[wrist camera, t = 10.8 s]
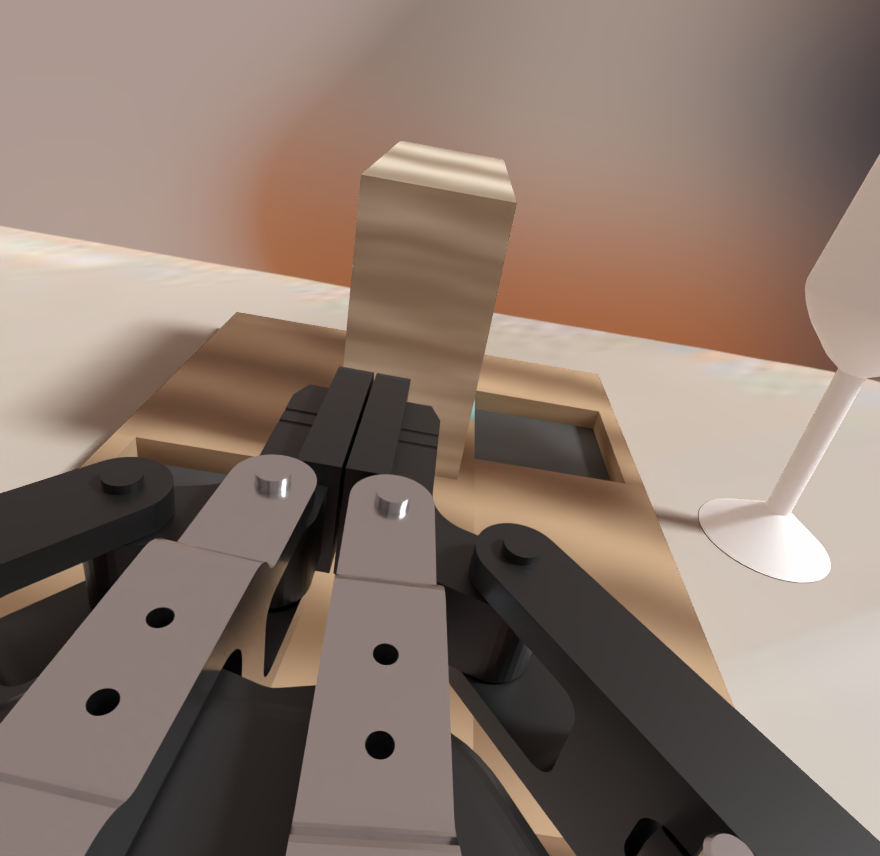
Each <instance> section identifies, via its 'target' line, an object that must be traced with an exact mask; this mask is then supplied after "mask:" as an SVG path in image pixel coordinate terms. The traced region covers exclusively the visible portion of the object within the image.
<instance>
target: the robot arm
mask: <svg viewBox="0 0 880 856" xmlns="http://www.w3.org/2000/svg"><path fill="white" fill-rule="evenodd" d="M410 383H411V379H408V378H403V377H397V376H392V375H386V374H381V373H377V374H376V377H375V380H374V372H369V371H364V370H358V369H353V368H347V367H342V366H339V368H338V370H337V372H336V374H335V376H334V379H333V381H332V383H331V385H330V387H329V388H327V387H322V386H316V385H311V384H310V385H308V386H306V387H305V388H303V389H301V390H300V391H298V392H296V393H295V394H293V396H292V397H291V399H290V401H289V403H288V405H287V406H286V409H285V411H284V412H283V414H282V415H281V417H280V420H279V422H278V423H277V424H276V426H275V428H274V430H273V432H272V433H271V435H270V437H269V439H268V441H267V442H266V444H265V446H264V448H263V450H262V451H261V453H260V455H259V456H255V457H251V458H248V459H246V460H244V461H242V462H240V463H238V464H237V465H236V466H235V467H234V468H233V469H232V470H231V471H230V472H229V474H228V475H227V476H226V478H225V479H224V480H223V482H222V483H218V484H211V485H193V486H174V480H173V475H172V473H171V471H170V470H169V469H168V468H167V467H166V466H164V465H163V464H161V463H159V462H157V461H154V460H151V459H147V458H141V457H119V458H113V459H108V460H104V461H101V462H97V463H94V464H91V465H88V466H85V467H82V468H79V469H76V470H72V471H69V472H66V473H63V474H60V475H57V476H54V477H50V478H47V479H44V480H41V481H38V482H35V483H32V484H28V485H25V486H22V487H19V488H16V489H13V490H10V491H7V492H3V493H0V598H2V597H4V596H6V595H8V594H10V593H12V592H15V591H17V590H19V589H22V588H24V587H27V586H29V585H31V584H34V583H36V582H38V581H41V580H43V579H45V578H48V577H50V576H53V575H55V574H57V573H60V572H62V571H64V570H67V569H69V568H72V567H74V566H76V565H79V564H81V563H83V568H84V575H85V581H83V582H80V583H78V584H76V585H74V586H71V587H69V588H67V589H65V590H62V591H60V592H58V593H56V594H53V595H51V596H49V597H47V598H44V599H42V600H40V601H37V602H35V603H33V604H31V605H28V606H26V607H24V608H22V609H19V610H17V611H15V612H13V613H10V614H8V615H6V616H4V617H1V618H0V856H550V855H549V854H548V852H547V851H546V849H545V848H544V846H543V845H542V843H541V842H540V840H539V839H538V837H537V836H536V834H535V833H534V831H533V830H532V828H531V827H530V825H529V824H528V822H527V821H526V819H525V818H524V816H523V815H522V813H521V812H520V810H519V809H518V807H517V806H516V804H515V803H514V801H513V800H512V798H511V797H510V795H509V794H508V792H507V791H506V789H505V788H504V786H503V785H502V784H501V782H500V781H499V779H498V778H497V777H496V775H495V774H494V773H493V771H492V770H491V769H490V768H489V767H488V766H487V764H486V763H485V762H484V761H483V760H482V759H481V757H480V756H479V755H478V754H476V753H475V752H474V751H473V750H472V749H471V748H470V747H469V746H468V745H467V744H466V743H464V742H463V741H462V740H460V739H459V738H457V737H456V736H455V735H453V734H452V733H451V725H450V699H449V684H450V685H451V687H452V688H453V689H454V691H455V692H456V693H457V695H458V696H459V698H460V699H461V700H462V702H463V703H464V704H465V706H466V707H467V708H468V710H469V711H470V712H471V714H472V715H473V716H474V718H475V719H476V720H477V722H478V723H479V725H480V726H481V727H482V729H483V730H484V731H485V733H486V734H487V735H488V737H489V738H490V739H491V741H492V742H493V743H494V745H495V746H496V748H497V749H498V750H499V752H500V753H501V754H502V756H503V757H504V758H505V760H506V761H507V762H508V764H509V765H510V766H511V768H512V769H513V770H514V772H515V773H516V775H517V776H518V777H519V779H520V780H521V781H522V783H523V784H524V785H525V787H526V788H527V789H528V791H529V792H530V793H531V795H532V796H533V798H534V799H535V800H536V802H537V803H538V804H539V806H540V807H541V808H542V810H543V811H544V812H545V814H546V815H547V816H548V818H549V819H550V821H551V822H552V823H553V825H554V826H555V827H556V829H557V830H558V831H559V833H560V834H561V835H562V837H563V838H564V839H565V841H566V842H567V843H568V845H569V846H570V848H571V849H572V850H573V852H574V853H575V854H576V856H880V841H879V840H878V839H876V838H875V837H874V836H873V835H872V834H871V833H870V832H869V831H868V830H867V829H866V828H864V827H863V826H862V825H861V824H860V823H859V822H858V821H857V820H856V819H855V818H854V817H852V816H851V815H850V814H849V813H848V812H847V811H846V810H845V809H844V808H843V807H842V806H841V805H839V804H838V803H837V802H836V801H835V800H834V799H833V798H832V797H831V796H830V795H829V794H827V793H826V792H825V791H824V790H823V789H822V788H821V787H820V786H819V785H818V784H817V783H815V782H814V781H813V780H812V779H811V778H810V777H809V776H808V775H807V774H806V773H805V772H803V771H802V770H801V769H800V768H799V767H798V766H797V765H796V764H795V763H794V762H793V761H792V760H790V759H789V758H788V757H787V756H786V755H785V754H784V753H783V752H782V751H781V750H780V749H778V748H777V747H776V746H775V745H774V744H773V743H772V742H771V741H770V740H769V739H768V738H766V737H765V736H764V735H763V734H762V733H761V732H760V731H759V730H758V729H757V728H756V727H754V726H753V725H752V724H751V723H750V722H749V721H748V720H747V719H746V718H745V717H744V716H743V715H741V714H740V713H739V712H738V711H737V710H736V709H735V708H734V707H733V706H732V705H731V704H729V703H728V702H727V701H726V700H725V699H724V698H723V697H722V696H721V695H720V694H719V693H717V692H716V691H715V690H714V689H713V688H712V687H711V686H710V685H709V684H708V683H707V682H705V681H704V680H703V679H702V678H701V677H700V676H699V675H698V674H697V673H696V672H695V671H694V670H692V669H691V668H690V667H689V666H688V665H687V664H686V663H685V662H684V661H683V660H682V659H680V658H679V657H678V656H677V655H676V654H675V653H674V652H673V651H672V650H671V649H670V648H668V647H667V646H666V645H665V644H664V643H663V642H662V641H661V640H660V639H659V638H658V637H656V636H655V635H654V634H653V633H652V632H651V631H650V630H649V629H648V628H647V627H646V626H645V625H643V624H642V623H641V622H640V621H639V620H638V619H637V618H636V617H635V616H634V615H633V614H631V613H630V612H629V611H628V610H627V609H626V608H625V607H624V606H623V605H622V604H621V603H619V602H618V601H617V600H616V599H615V598H614V597H613V596H612V595H611V594H610V593H609V592H607V591H606V590H605V589H604V588H603V587H602V586H601V585H600V584H599V583H598V582H597V581H595V580H594V579H593V578H592V577H591V576H590V575H589V574H588V573H587V572H586V571H585V570H584V569H582V568H581V567H580V566H579V565H578V564H577V563H576V562H575V561H574V560H573V559H572V558H570V557H569V556H568V555H567V554H566V553H565V552H564V551H563V550H562V549H561V548H560V547H558V546H557V545H556V544H555V543H554V542H553V541H552V540H551V539H550V538H548V537H547V536H546V535H544V534H543V533H541V532H539V531H537V530H535V529H533V528H530V527H528V526H524V525H520V524H515V523H499V524H495V525H491V526H489V527H487V528H485V529H484V530H482V531H481V533H480V534H479V535H476V534H473V533H471V532H468V531H466V530H464V529H462V528H460V527H457V526H456V525H454V524H453V523H451V522H450V521H448V520H447V519H446V518H445V517H444V516H443V515H442V514H441V513H440V512H439V511H438V509H437V508H436V506H435V504H434V500H433V487H434V478H435V468H436V458H437V448H438V439H439V438H438V437H439V429H440V419H439V418H438V416H437V414H436V413H435V411H434V409H433V408H432V406H427V405H422V404H416V403H411V402H407V401H408V395H409V389H410ZM335 552H336V555H335ZM334 556H335V563H334V571H333V574H335V577H334V582H333V588H332V594H331V600H330V606H329V612H328V617H327V623H326V629H325V635H324V641H323V647H322V653H321V659H320V664H319V670H318V676H317V682H316V685H311V686H296V687H282V688H271V686H272V684H273V681H274V679H275V676H276V674H277V672H278V669H279V667H280V665H281V662H282V660H283V658H284V655H285V653H286V650H287V648H288V646H289V643H290V641H291V639H292V636H293V634H294V631H295V629H296V627H297V624H298V622H299V620H300V617H301V615H302V613H303V610H304V608H305V604H306V595H307V591H308V590H309V588H310V585H311V583H312V579H313V576H314V573H315V571H319V572H324V573H330V570H331V566H332V563H333V559H334Z"/></svg>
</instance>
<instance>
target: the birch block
mask: <svg viewBox="0 0 880 856" xmlns="http://www.w3.org/2000/svg"><path fill="white" fill-rule="evenodd" d="M516 204H517V202H516V199H515V195H514V192H513V189H512V186H511V183H510V179H509V176H508V173H507V170H506V167H505V163H504V160H502V159H497V158H492V157H486V156H481V155H475V154H470V153H465V152H459V151H454V150H448V149H443V148H437V147H432V146H426V145H421V144H416V143H410V142H405V141H400V142H399V143H398V144H396V145H395V146H394V147H393V148H392V149H391V150H389V151H388V152H387V153H386V154H385V155H384V156H382V157H381V158H380V159H379V160H378V161H376V162H375V163H374V164H373V165H372V166H371V167H369V168H368V169H367V170H366V171H365V172H363V174H361V181H360V192H359V203H358V213H357V225H356V235H355V246H354V256H353V268H352V279H351V289H350V300H349V310H348V321H347V332H346V343H345V353H344V364H343V367H347V368H353V369H358V370H364V371H369V372H374V380H375V377H376V374H377V373H381V374H386V375H392V376H397V377H403V378H408V379H411V383H410V389H409V395H408V401H407V402H411V403H416V404H422V405H427V406H432V408H433V409H434V411H435V413H436V414H437V416H438V418H439V419H440V429H439V437H438V438H439V439H438V448H437V458H436V468H435V476H438V477H444V478H450V479H456V480H457V478H458V474H459V469H460V464H461V460H462V455H463V450H464V446H465V441H466V436H467V432H468V427H469V423H470V418H471V413H472V409H473V404H474V399H475V395H476V390H477V385H478V381H479V376H480V371H481V367H482V362H483V358H484V353H485V348H486V344H487V339H488V334H489V330H490V325H491V320H492V316H493V311H494V306H495V302H496V297H497V293H498V288H499V283H500V278H501V274H502V269H503V264H504V260H505V255H506V251H507V246H508V241H509V237H510V232H511V227H512V223H513V218H514V214H515V209H516Z"/></svg>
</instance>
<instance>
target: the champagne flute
mask: <svg viewBox="0 0 880 856" xmlns="http://www.w3.org/2000/svg"><path fill="white" fill-rule="evenodd" d="M805 295H806V304H807V308H808V313H809V317H810V320H811V323H812V325H813V327H814V329H815V331H816V333H817V335H818V337H819V339H820V342H821V344H822V346H823V348H824V350H825V352H826V354H827V355H828V356H829V358H830V359H831V360H832V361H833V362H834V364H835V365H837V367H838V370H837V372H836V373H835V375H834V377H833V379H832V381H831V383H830V385H829V387H828V389H827V390H826V392H825V394H824V396H823V398H822V400H821V402H820V404H819V405H818V407H817V409H816V411H815V413H814V415H813V417H812V419H811V420H810V422H809V424H808V426H807V428H806V430H805V432H804V434H803V435H802V437H801V439H800V441H799V443H798V445H797V447H796V449H795V451H794V452H793V454H792V456H791V458H790V460H789V462H788V464H787V466H786V467H785V469H784V471H783V473H782V475H781V477H780V479H779V481H778V482H777V484H776V486H775V488H774V490H773V492H772V494H771V496H770V497H769V499H768V501H756V500H744V499H730V498H721V499H714V500H711V501H708V502H706V503H705V504H704V505H702V507H701V508H700V510H699V521H700V525H701V526H702V528H703V530H704V532H705V533H706V535H707V536H708V537H709V538H710V539H711V541H712V542H713V543H714V544H716V545H717V546H718V547H719V548H720V549H721V550H722V551H724V552H725V553H726V554H728V555H729V556H730V557H732V558H733V559H735V560H737V561H738V562H740V563H742V564H743V565H745V566H747V567H749V568H751V569H753V570H755V571H757V572H760V573H762V574H765V575H768V576H770V577H773V578H777V579H781V580H785V581H791V582H798V583H804V582H814V581H819V580H821V579H822V578H824V577H826V576H827V574H828V573H829V572H830V566H831V563H830V559H829V556H828V554H827V552H826V550H825V549H824V547H823V546H822V545H821V544H820V542H819V541H818V540H817V539H816V538H815V537H814V536H813V535H812V534H811V533H810V532H809V531H808V530H807V529H806V528H805V527H804V526H803V525H802V523H801V522H800V521H799V520H798V519H797V518H796V517H795V516H794V515H793V514H792V513H791V511H792V509H793V508H794V506H795V504H796V502H797V501H798V499H799V497H800V495H801V493H802V492H803V490H804V488H805V486H806V485H807V483H808V481H809V479H810V477H811V476H812V474H813V472H814V470H815V469H816V467H817V465H818V463H819V461H820V460H821V458H822V456H823V454H824V453H825V451H826V449H827V447H828V445H829V444H830V442H831V440H832V438H833V437H834V435H835V433H836V431H837V429H838V428H839V426H840V424H841V422H842V421H843V419H844V417H845V415H846V413H847V412H848V410H849V408H850V406H851V404H852V403H853V401H854V399H855V397H856V396H857V394H858V392H859V390H860V388H861V387H862V385H863V383H864V381H865V380H866V378H870V377H879V376H880V155H879V156H878V158H877V160H876V162H875V163H874V165H873V167H872V168H871V170H870V172H869V173H868V175H867V177H866V178H865V180H864V182H863V184H862V185H861V187H860V189H859V191H858V192H857V194H856V196H855V198H854V199H853V201H852V202H851V204H850V206H849V208H848V209H847V211H846V213H845V215H844V216H843V218H842V220H841V222H840V223H839V225H838V227H837V228H836V230H835V232H834V233H833V235H832V237H831V239H830V240H829V242H828V244H827V245H826V247H825V249H824V250H823V252H822V254H821V256H820V257H819V259H818V261H817V263H816V264H815V266H814V268H813V269H812V271H811V273H810V274H809V276H808V278H807V281H806V285H805Z"/></svg>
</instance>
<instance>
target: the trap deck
mask: <svg viewBox="0 0 880 856" xmlns="http://www.w3.org/2000/svg"><path fill="white" fill-rule="evenodd" d="M346 332H347V331H344V330H338V329H332V328H326V327H320V326H315V325H309V324H303V323H297V322H291V321H286V320H280V319H274V318H268V317H262V316H256V315H251V314H245V313H239V312H236V313H235V314H234V315H233V316H232V317H231V318H230V319H229V320H228V321H227V322H226V323H225V324H224V325H223V326H222V327H221V328H220V329H219V330H218V331H217V332H216V333H215V334H214V335H213V336H212V337H211V338H210V339H209V340H208V341H207V342H206V343H205V344H204V345H203V346H202V347H201V348H200V349H199V350H198V351H197V352H196V353H195V354H194V355H193V356H192V357H191V358H190V359H189V360H188V361H187V362H186V363H185V364H184V365H183V366H182V367H181V368H180V369H179V370H178V371H177V372H176V373H175V374H174V375H173V376H172V377H171V378H170V379H169V380H168V381H167V382H166V383H165V384H164V385H163V386H162V387H161V388H160V389H159V390H158V391H157V392H156V393H155V394H154V395H153V396H152V397H151V398H150V399H149V400H148V401H147V402H145V403H144V404H143V405H142V406H141V407H140V408H139V409H138V410H137V411H136V412H135V413H134V414H133V415H132V416H131V417H130V418H129V419H128V420H127V421H126V422H125V423H124V424H123V425H122V426H121V427H120V428H119V429H118V430H117V431H116V432H115V433H114V434H113V435H112V436H111V437H110V438H109V439H108V440H107V441H106V442H105V443H104V444H103V445H102V446H101V447H100V448H99V449H98V450H97V451H96V452H95V453H94V454H93V455H92V456H91V457H90V458H89V459H88V460H87V461H86V462H85V463H84V464H83V465H82V466H81V467H80V468H82V467H85V466H88V465H91V464H94V463H97V462H101V461H104V460H108V459H113V458H119V457H141V458H147V459H151V460H154V461H157V462H159V463H161V464H163V465H164V466H166V467H167V468H168V469H169V470H170V471H171V473H172V475H173V480H174V486H193V485H211V484H218V483H222V482H223V480H224V479H225V478H226V476H227V475H228V474H229V472H230V471H231V470H232V469H233V468H234V467H235V466H236V465H237V464H238V463H240V462H242V461H244V460H246V459H248V458H251V457H255V456H259V455H260V453H261V451H262V450H263V448H264V446H265V444H266V442H267V441H268V439H269V437H270V435H271V433H272V432H273V430H274V428H275V426H276V424H277V423H278V422H279V420H280V417H281V415H282V414H283V412H284V411H285V409H286V406H287V405H288V403H289V401H290V399H291V397H292V396H293V394H295V393H296V392H298V391H300V390H301V389H303V388H305V387H306V386H308V385H310V384H311V385H316V386H322V387H327V388H329V387H330V385H331V383H332V381H333V379H334V376H335V374H336V372H337V370H338V368H339V366H342V367H343V364H344V353H345V343H346ZM433 500H434V504H435V506H436V508H437V509H438V511H439V512H440V513H441V514H442V515H443V516H444V517H445V518H446V519H447V520H448V521H450V522H451V523H453V524H454V525H456V526H457V527H460V528H462V529H464V530H466V531H468V532H471V533H473V534H476V535H479V534H480V533H481V531H482V530H484V529H485V528H487V527H489V526H491V525H495V524H499V523H515V524H520V525H524V526H528V527H530V528H533V529H535V530H537V531H539V532H541V533H543V534H544V535H546V536H547V537H548V538H550V539H551V540H552V541H553V542H554V543H555V544H556V545H557V546H558V547H560V548H561V549H562V550H563V551H564V552H565V553H566V554H567V555H568V556H569V557H570V558H572V559H573V560H574V561H575V562H576V563H577V564H578V565H579V566H580V567H581V568H582V569H584V570H585V571H586V572H587V573H588V574H589V575H590V576H591V577H592V578H593V579H594V580H595V581H597V582H598V583H599V584H600V585H601V586H602V587H603V588H604V589H605V590H606V591H607V592H609V593H610V594H611V595H612V596H613V597H614V598H615V599H616V600H617V601H618V602H619V603H621V604H622V605H623V606H624V607H625V608H626V609H627V610H628V611H629V612H630V613H631V614H633V615H634V616H635V617H636V618H637V619H638V620H639V621H640V622H641V623H642V624H643V625H645V626H646V627H647V628H648V629H649V630H650V631H651V632H652V633H653V634H654V635H655V636H656V637H658V638H659V639H660V640H661V641H662V642H663V643H664V644H665V645H666V646H667V647H668V648H670V649H671V650H672V651H673V652H674V653H675V654H676V655H677V656H678V657H679V658H680V659H682V660H683V661H684V662H685V663H686V664H687V665H688V666H689V667H690V668H691V669H692V670H694V671H695V672H696V673H697V674H698V675H699V676H700V677H701V678H702V679H703V680H704V681H705V682H707V683H708V684H709V685H710V686H711V687H712V688H713V689H714V690H715V691H716V692H717V693H719V694H720V695H721V696H722V697H723V698H724V699H725V700H726V701H727V702H728V703H729V704H731V705H732V706H733V707H734V705H733V703H732V700H731V698H730V695H729V693H728V691H727V688H726V686H725V683H724V681H723V678H722V676H721V673H720V671H719V669H718V666H717V664H716V661H715V659H714V656H713V654H712V651H711V649H710V646H709V644H708V642H707V639H706V637H705V634H704V632H703V629H702V627H701V624H700V622H699V620H698V617H697V615H696V612H695V610H694V607H693V605H692V602H691V600H690V598H689V595H688V593H687V590H686V588H685V585H684V583H683V580H682V578H681V576H680V573H679V571H678V568H677V566H676V563H675V561H674V558H673V556H672V554H671V551H670V549H669V546H668V544H667V541H666V539H665V536H664V534H663V532H662V529H661V527H660V524H659V522H658V519H657V517H656V514H655V512H654V510H653V507H652V505H651V502H650V500H649V497H648V495H647V492H646V490H645V488H644V485H643V483H642V480H641V478H640V475H639V473H638V470H637V468H636V465H635V463H634V461H633V458H632V456H631V453H630V451H629V448H628V446H627V443H626V441H625V439H624V436H623V434H622V431H621V429H620V426H619V424H618V421H617V419H616V417H615V414H614V412H613V409H612V407H611V404H610V402H609V399H608V397H607V395H606V392H605V390H604V387H603V385H602V382H601V380H600V377H599V375H598V374H593V373H588V372H582V371H576V370H570V369H564V368H559V367H553V366H547V365H541V364H535V363H529V362H524V361H518V360H512V359H506V358H500V357H495V356H489V355H484V358H483V362H482V367H481V371H480V376H479V381H478V385H477V390H476V395H475V399H474V404H473V409H472V413H471V418H470V423H469V427H468V432H467V436H466V441H465V446H464V450H463V455H462V460H461V464H460V469H459V474H458V478H457V480H456V479H450V478H444V477H438V476H435V478H434V487H433ZM335 555H336V552H335ZM334 563H335V556H334V559H333V563H332V566H331V570H330V573H324V572H319V571H315V573H314V576H313V579H312V583H311V585H310V588H309V590H308V591H307V595H306V604H305V608H304V610H303V613H302V615H301V617H300V620H299V622H298V624H297V627H296V629H295V631H294V634H293V636H292V639H291V641H290V643H289V646H288V648H287V650H286V653H285V655H284V658H283V660H282V662H281V665H280V667H279V669H278V672H277V674H276V676H275V679H274V681H273V684H272V686H271V688H282V687H296V686H311V685H316V682H317V676H318V670H319V664H320V659H321V653H322V647H323V641H324V635H325V629H326V623H327V617H328V612H329V606H330V600H331V594H332V588H333V582H334V577H335V574H333V571H334ZM83 581H85V575H84V568H83V563H81V564H79V565H76V566H74V567H72V568H69V569H67V570H64V571H62V572H60V573H57V574H55V575H53V576H50V577H48V578H45V579H43V580H41V581H38V582H36V583H34V584H31V585H29V586H27V587H24V588H22V589H19V590H17V591H15V592H12V593H10V594H8V595H6V596H4V597H2V598H0V618H1V617H4V616H6V615H8V614H10V613H13V612H15V611H17V610H19V609H22V608H24V607H26V606H28V605H31V604H33V603H35V602H37V601H40V600H42V599H44V598H47V597H49V596H51V595H53V594H56V593H58V592H60V591H62V590H65V589H67V588H69V587H71V586H74V585H76V584H78V583H80V582H83ZM449 699H450V725H451V733H452V734H453V735H455V736H456V737H457V738H459V739H460V740H462V741H463V742H464V743H466V744H467V745H468V746H469V747H470V748H471V749H472V750H473V751H474V752H475V753H476V754H478V755H479V756H480V757H481V759H482V760H483V761H484V762H485V763H486V764H487V766H488V767H489V768H490V769H491V770H492V771H493V773H494V774H495V775H496V777H497V778H498V779H499V781H500V782H501V784H502V785H503V786H504V788H505V789H506V791H507V792H508V794H509V795H510V797H511V798H512V800H513V801H514V803H515V804H516V806H517V807H518V809H519V810H520V812H521V813H522V815H523V816H524V818H525V819H526V821H527V822H528V824H529V825H530V827H531V828H532V830H533V831H534V833H535V834H536V836H537V837H538V839H539V840H540V842H541V843H542V845H543V846H544V848H545V849H546V851H547V852H548V854H549V855H550V856H576V854H575V853H574V852H573V850H572V849H571V848H570V846H569V845H568V843H567V842H566V841H565V839H564V838H563V837H562V835H561V834H560V833H559V831H558V830H557V829H556V827H555V826H554V825H553V823H552V822H551V821H550V819H549V818H548V816H547V815H546V814H545V812H544V811H543V810H542V808H541V807H540V806H539V804H538V803H537V802H536V800H535V799H534V798H533V796H532V795H531V793H530V792H529V791H528V789H527V788H526V787H525V785H524V784H523V783H522V781H521V780H520V779H519V777H518V776H517V775H516V773H515V772H514V770H513V769H512V768H511V766H510V765H509V764H508V762H507V761H506V760H505V758H504V757H503V756H502V754H501V753H500V752H499V750H498V749H497V748H496V746H495V745H494V743H493V742H492V741H491V739H490V738H489V737H488V735H487V734H486V733H485V731H484V730H483V729H482V727H481V726H480V725H479V723H478V722H477V720H476V719H475V718H474V716H473V715H472V714H471V712H470V711H469V710H468V708H467V707H466V706H465V704H464V703H463V702H462V700H461V699H460V698H459V696H458V695H457V693H456V692H455V691H454V689H453V688H452V687H451V685H450V684H449Z"/></svg>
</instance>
